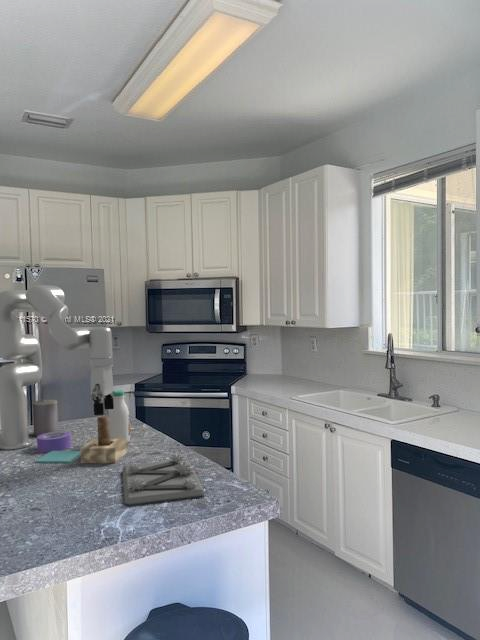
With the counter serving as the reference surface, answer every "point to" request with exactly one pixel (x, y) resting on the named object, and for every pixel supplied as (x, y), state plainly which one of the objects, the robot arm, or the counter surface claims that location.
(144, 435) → the counter surface
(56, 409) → the pillar candle
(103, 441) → the walnut peg
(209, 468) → the counter surface
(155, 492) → the decorative plate
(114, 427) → the milk bottle
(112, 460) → the eye block
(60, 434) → the tape roll
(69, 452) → the teal mat
